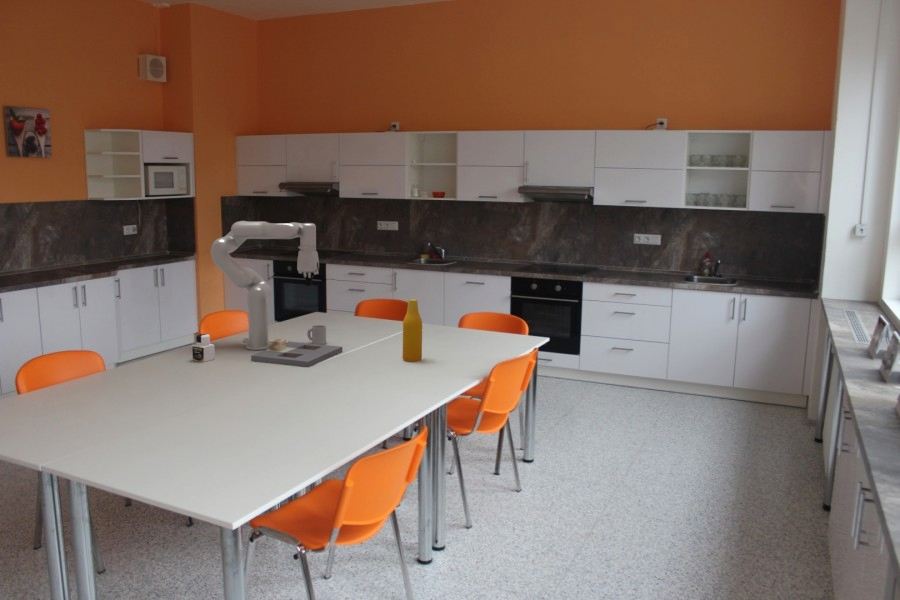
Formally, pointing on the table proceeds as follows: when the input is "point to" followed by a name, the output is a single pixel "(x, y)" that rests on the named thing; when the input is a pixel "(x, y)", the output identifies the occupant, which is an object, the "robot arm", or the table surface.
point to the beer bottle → (412, 333)
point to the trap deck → (298, 354)
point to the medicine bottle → (203, 349)
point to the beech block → (277, 344)
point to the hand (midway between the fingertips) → (308, 285)
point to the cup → (317, 334)
